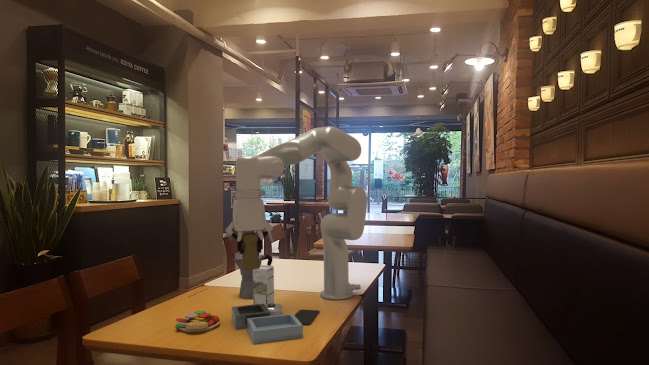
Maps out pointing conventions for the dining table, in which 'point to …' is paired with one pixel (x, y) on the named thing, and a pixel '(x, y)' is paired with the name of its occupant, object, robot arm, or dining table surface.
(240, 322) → the collar
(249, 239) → the cork
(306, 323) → the phone
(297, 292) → the dining table surface
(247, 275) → the coffeepot
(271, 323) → the tray
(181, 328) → the toy food set
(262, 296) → the syrup box
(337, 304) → the dining table surface
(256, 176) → the robot arm
